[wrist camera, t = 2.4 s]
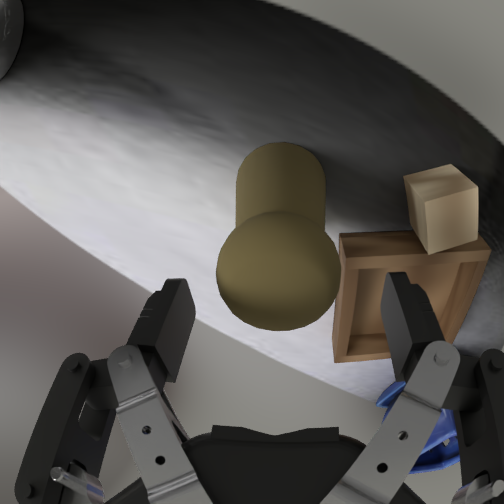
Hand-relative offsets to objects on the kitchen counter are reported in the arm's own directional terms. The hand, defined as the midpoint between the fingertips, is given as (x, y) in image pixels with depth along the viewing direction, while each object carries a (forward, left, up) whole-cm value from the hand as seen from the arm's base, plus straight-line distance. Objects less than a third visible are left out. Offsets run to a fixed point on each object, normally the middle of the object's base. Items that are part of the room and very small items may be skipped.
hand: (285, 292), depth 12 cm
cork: (0, 0, -11) cm, 11 cm away
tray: (+10, -10, -10) cm, 17 cm away
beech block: (+11, -1, -10) cm, 15 cm away
